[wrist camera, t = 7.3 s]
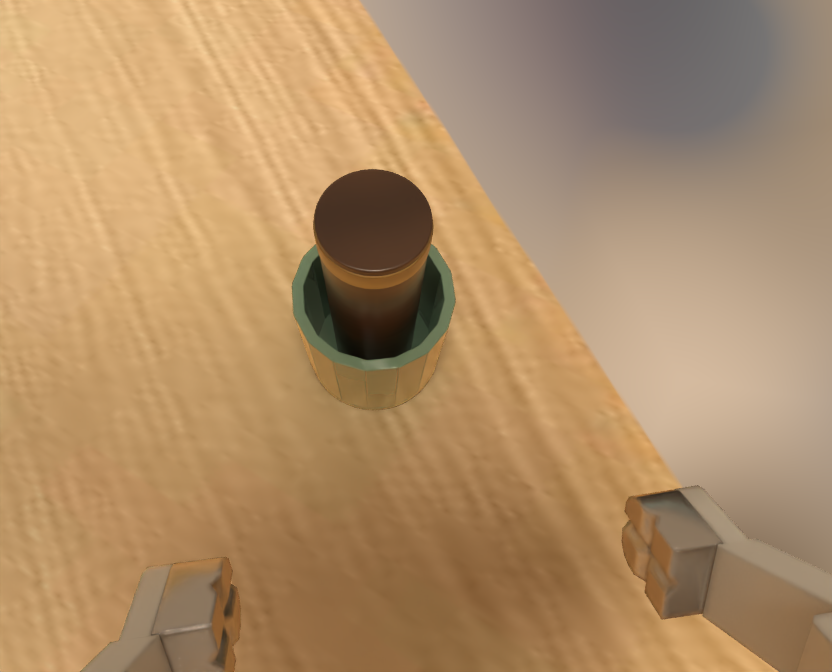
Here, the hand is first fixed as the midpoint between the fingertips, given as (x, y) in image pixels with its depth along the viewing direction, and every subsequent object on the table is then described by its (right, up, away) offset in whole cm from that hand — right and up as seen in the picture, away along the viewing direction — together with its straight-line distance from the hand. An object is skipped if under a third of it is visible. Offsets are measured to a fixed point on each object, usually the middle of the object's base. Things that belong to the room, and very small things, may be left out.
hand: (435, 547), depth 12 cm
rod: (-3, +4, +20) cm, 21 cm away
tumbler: (-3, +4, +21) cm, 21 cm away
